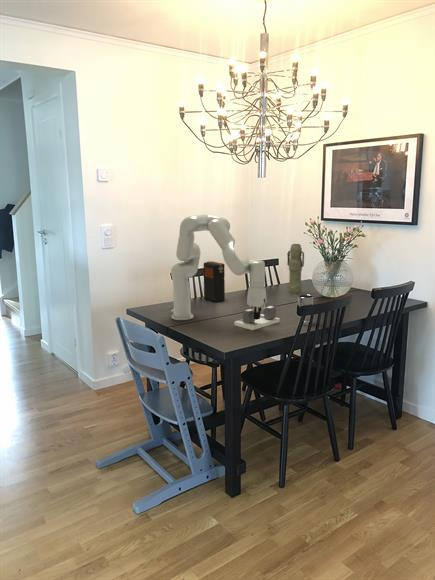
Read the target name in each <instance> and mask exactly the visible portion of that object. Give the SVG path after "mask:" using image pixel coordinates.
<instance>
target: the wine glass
mask: <svg viewBox="0 0 435 580" xmlns="http://www.w3.org/2000/svg"><path fill="white" fill-rule="evenodd" d="M297 302H298V306H299V305H309V304H312V305H313V303H314V295H312V294H301V295H298V296H297ZM306 319H307V316H306V317H305V321H304V320H303V321H304V323H306V322H307V320H306ZM299 322H300V321H298V322H297V323H298V324H299ZM308 322H309V321H308ZM308 322H307V323H308Z"/></svg>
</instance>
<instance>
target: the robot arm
mask: <svg viewBox="0 0 435 580" xmlns="http://www.w3.org/2000/svg"><path fill="white" fill-rule="evenodd" d="M230 229H231V223H230V222H229V221H228V219H226V218H224V217H219V216H214V215H208V214H199V215H198V214H197V215H192V216H187V217H185V218H183V220H182V221H181V223H180V225H179V232H178V233H179V234H178V240H177V246H176V252H175V254H176V259H177V260H179V261H181V262H177V263H175V264H174V265H173V266H172V268H171V270H170V275H171V279H172V289H173V291H172V293H173V295H172V296H173V308H172V309H171V310H170V312H172V313H173V314H171V316H170V317H171V319H172V320H174V321H188V320H192V319H194V314H193V313H192V312H191V311H192V310H191V284H190V282H189V279H190V278H192V277H194V276H196V275H197V272H198V270H199V264H200V259H201V258H200V257H201V249H200V246H199V244H197V243H196V242H195V232H202V231H208V233H210V235H211V236H212V238H213V239H214V241H215V242H216V244H218V246H219V247H220V249H221V251H222V252H221V254H222V256H223V260H224V262H225V265H227V267H228V268H229V270H230V271H231V272H232V273H233V274H234V275H236V276H243V275H245V274H249V282H248V283H249V286H248V289H247V295H246V296H247V298H246V304H247V305H248V307H250V308H251V310H253V312H254V319H255V320H258V319H260V315H261V312H262V311H263V310H264V309H266V308H265V307H267V304H268V303H267V299H268V297H267V291H266V287H265V285H266V284H265V283H266V281H265V278H266V276H265V275H266V271H265V269H266V264H265V261H264V260H261V259H260V260H259V259H258V260H257V259H256V260H254V259H249V258H244V259H240V258H239V257H238V255H237V254H236V251H235V248H234V247H235V244H236V239H235V237H233V235H232V234H231V232H230Z"/></svg>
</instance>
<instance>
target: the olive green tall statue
mask: <svg viewBox="0 0 435 580" xmlns="http://www.w3.org/2000/svg"><path fill="white" fill-rule="evenodd" d="M302 250H303V249H302V245H301V244H300V243H293V244H291V246H290V249H289V251H288V252H286V253H287V265H288V270H289V283H288V295H289V294H290V295H300V294H301V295H302V290H303V289H302V270H303V267H304V265H305V252H304V251H302ZM290 295H289V296H290Z"/></svg>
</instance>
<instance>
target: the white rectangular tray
mask: <svg viewBox="0 0 435 580" xmlns="http://www.w3.org/2000/svg"><path fill="white" fill-rule="evenodd" d="M280 319H281V318H280V317H276V318H274V319H270V320H269V319H265V318H264V314H262V313H260V319H258V320H255V321H254V322H251V323H246V322H243V318H242V319H239V320H235V321H234V323H233V324H234V325H233V326H236V327H239V328H243V329H247V330H250V331H254V330H258V329H260V328H261V329H262V328H264V327H267V326H271V325H274V324H277V323H280Z"/></svg>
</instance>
